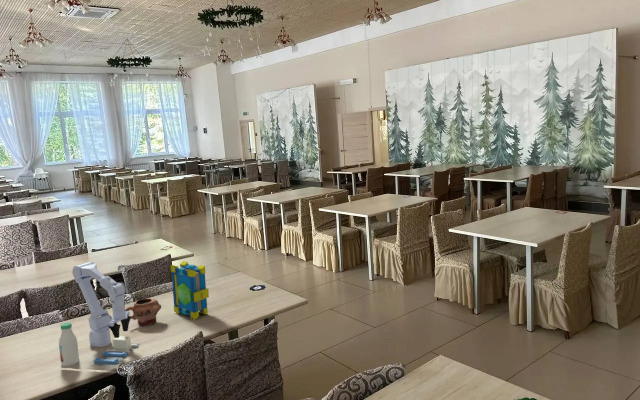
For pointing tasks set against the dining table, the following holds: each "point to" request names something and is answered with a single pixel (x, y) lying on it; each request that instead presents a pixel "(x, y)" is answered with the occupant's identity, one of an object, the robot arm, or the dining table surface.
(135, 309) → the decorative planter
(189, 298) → the decorative book
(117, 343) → the tall cream block
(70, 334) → the milk bottle
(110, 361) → the board
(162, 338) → the dining table surface
